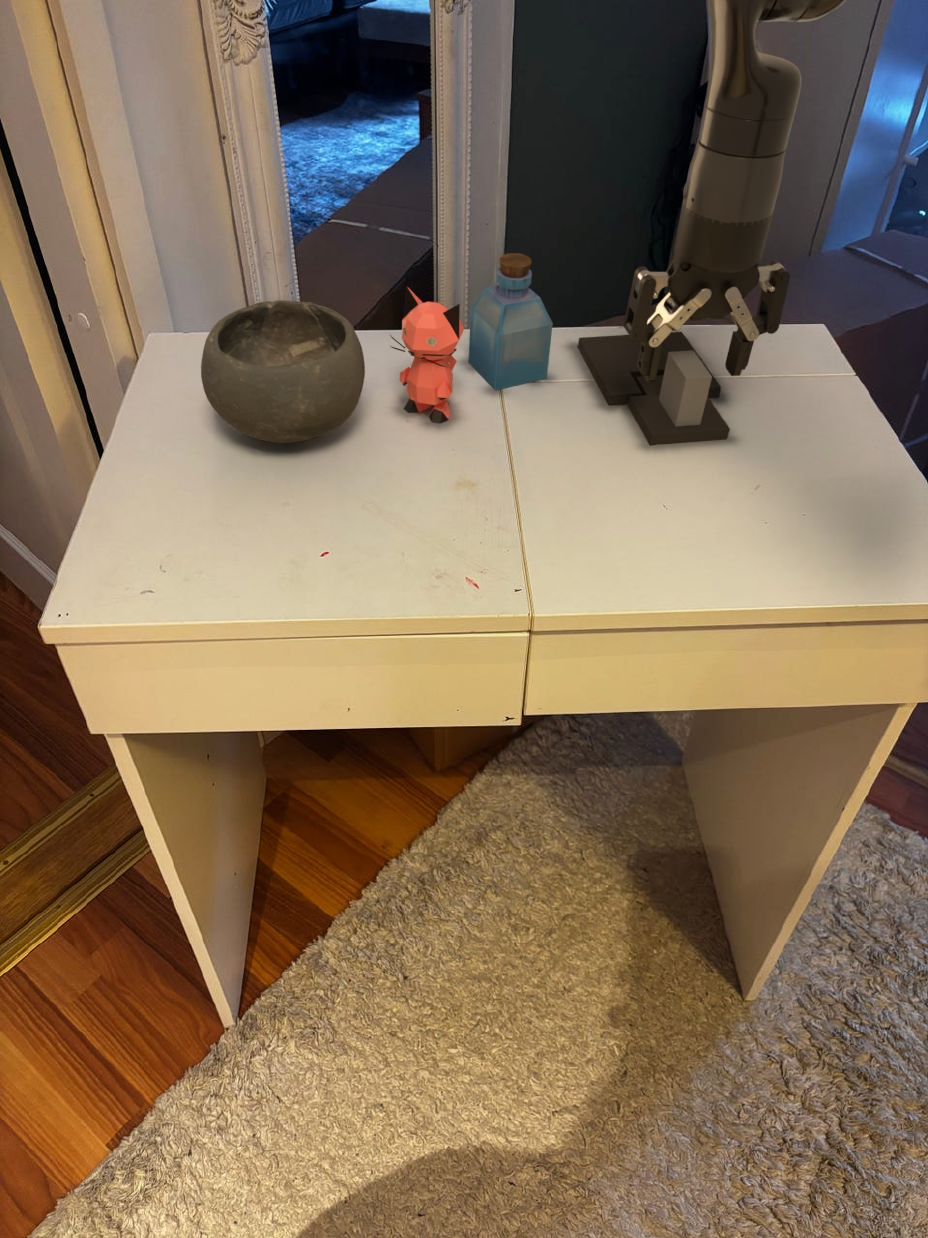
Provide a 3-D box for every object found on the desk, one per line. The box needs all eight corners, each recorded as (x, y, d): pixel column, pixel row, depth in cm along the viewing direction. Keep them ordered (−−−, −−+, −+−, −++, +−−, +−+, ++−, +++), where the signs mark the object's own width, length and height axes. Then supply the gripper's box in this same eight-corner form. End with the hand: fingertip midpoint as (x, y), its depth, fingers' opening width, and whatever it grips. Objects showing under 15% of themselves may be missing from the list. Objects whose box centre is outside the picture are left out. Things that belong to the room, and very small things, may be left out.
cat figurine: (382, 411, 93) (378, 297, 84) (422, 382, 97) (422, 270, 89) (441, 435, 90) (443, 319, 82) (479, 404, 94) (485, 291, 86)
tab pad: (689, 382, 99) (702, 325, 94) (727, 439, 91) (743, 380, 87) (617, 387, 98) (627, 330, 93) (649, 445, 90) (662, 385, 86)
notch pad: (679, 340, 105) (681, 331, 104) (719, 397, 97) (721, 387, 96) (577, 347, 103) (578, 337, 103) (608, 405, 95) (610, 395, 94)
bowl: (207, 394, 94) (189, 300, 87) (353, 379, 97) (348, 287, 90) (217, 480, 84) (198, 381, 77) (380, 460, 87) (376, 364, 80)
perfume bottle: (518, 350, 102) (527, 242, 94) (546, 378, 99) (558, 267, 90) (468, 362, 100) (472, 252, 92) (495, 390, 96) (502, 278, 88)
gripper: (662, 222, 74) (631, 400, 86) (827, 214, 76) (775, 390, 88) (633, 187, 80) (607, 360, 91) (789, 181, 82) (744, 351, 93)
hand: (690, 374), depth 89 cm, fingers open, 8 cm apart
